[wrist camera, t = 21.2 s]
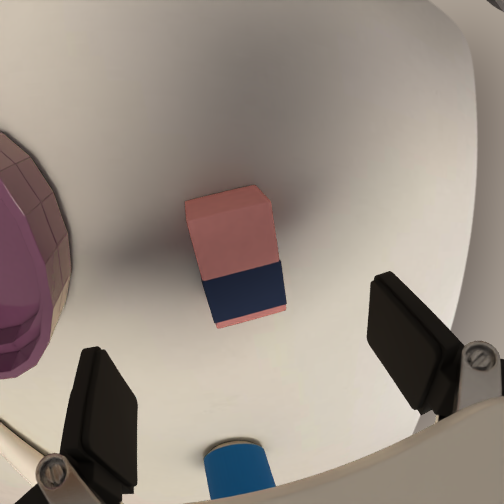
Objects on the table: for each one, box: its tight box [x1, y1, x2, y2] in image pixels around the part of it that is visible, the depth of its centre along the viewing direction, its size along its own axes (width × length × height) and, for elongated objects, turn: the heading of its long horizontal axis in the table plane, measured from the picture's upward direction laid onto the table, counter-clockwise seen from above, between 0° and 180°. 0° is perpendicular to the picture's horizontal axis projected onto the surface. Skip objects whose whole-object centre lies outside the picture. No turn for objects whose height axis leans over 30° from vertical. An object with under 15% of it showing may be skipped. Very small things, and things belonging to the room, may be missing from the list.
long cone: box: [0, 422, 45, 487], centre depth 22 cm, size 6×6×19 cm
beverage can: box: [204, 441, 276, 500], centre depth 24 cm, size 6×6×12 cm
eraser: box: [185, 185, 287, 329], centre depth 18 cm, size 6×4×3 cm, turn 10°
